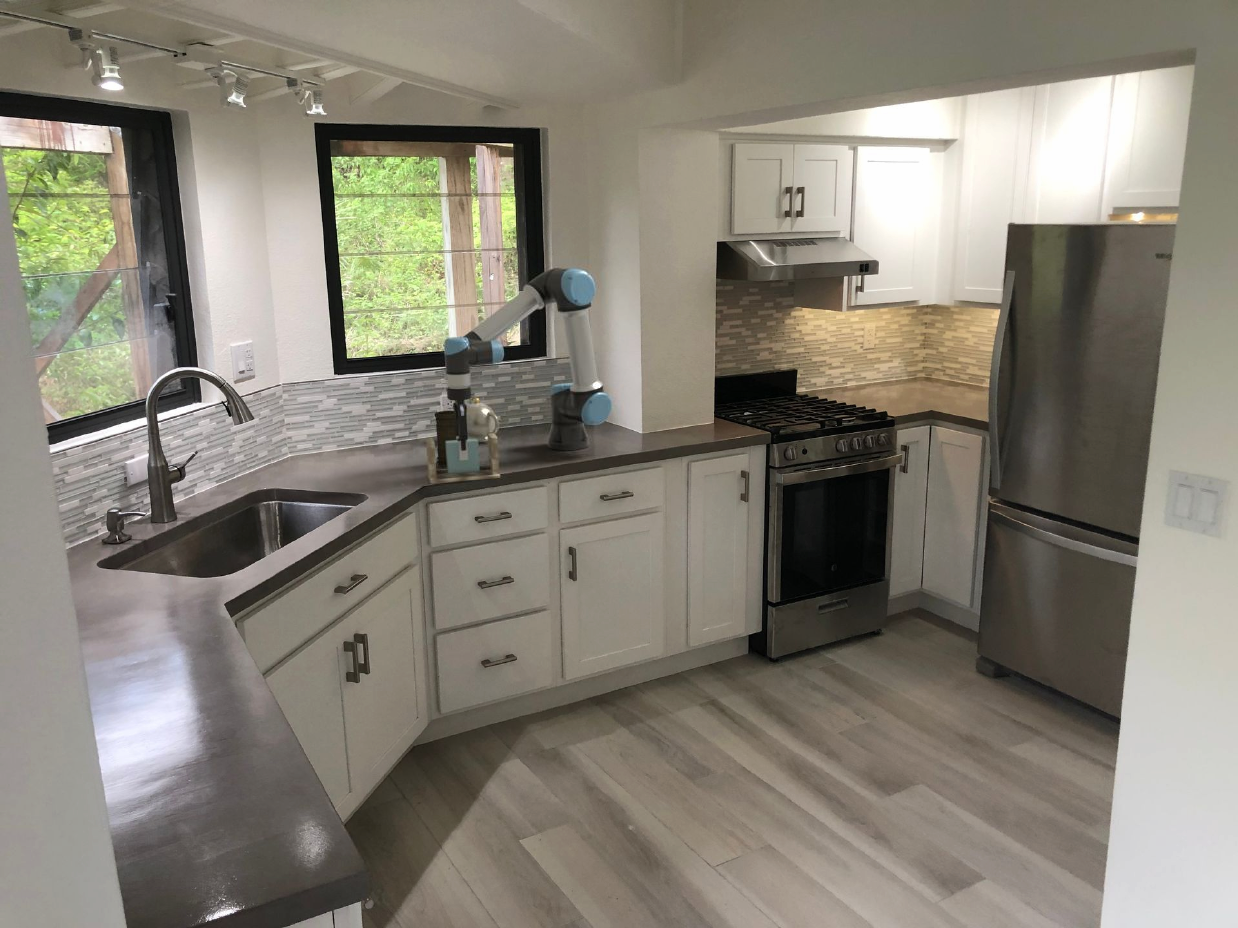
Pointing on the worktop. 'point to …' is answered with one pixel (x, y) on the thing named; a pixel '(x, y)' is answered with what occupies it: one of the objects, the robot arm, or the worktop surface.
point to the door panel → (462, 465)
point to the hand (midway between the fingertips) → (462, 457)
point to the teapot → (480, 421)
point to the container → (444, 434)
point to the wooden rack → (484, 472)
